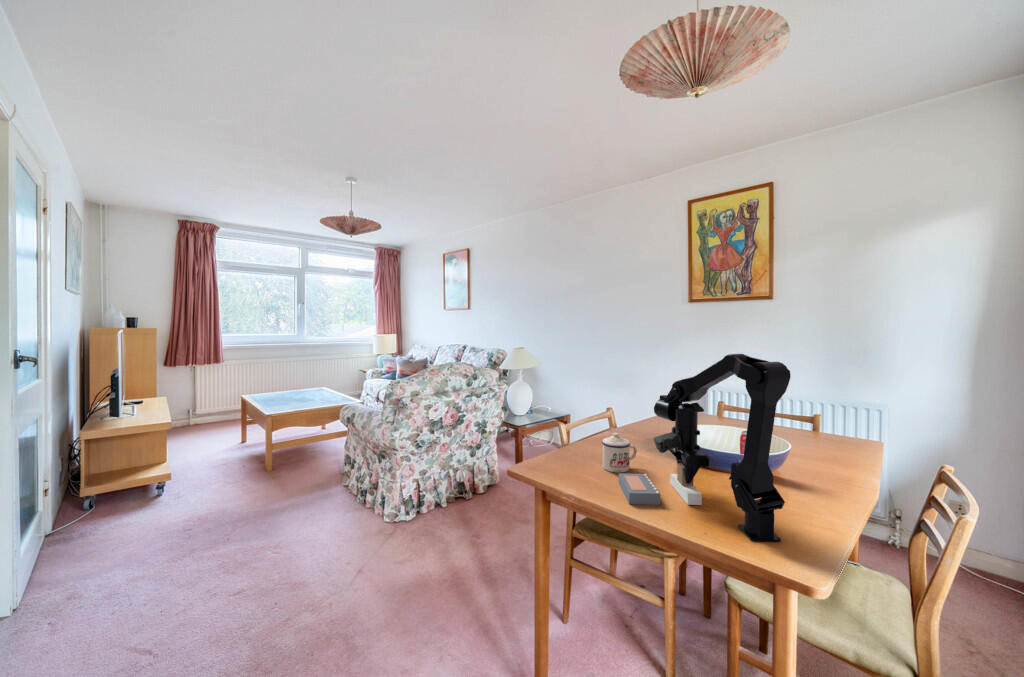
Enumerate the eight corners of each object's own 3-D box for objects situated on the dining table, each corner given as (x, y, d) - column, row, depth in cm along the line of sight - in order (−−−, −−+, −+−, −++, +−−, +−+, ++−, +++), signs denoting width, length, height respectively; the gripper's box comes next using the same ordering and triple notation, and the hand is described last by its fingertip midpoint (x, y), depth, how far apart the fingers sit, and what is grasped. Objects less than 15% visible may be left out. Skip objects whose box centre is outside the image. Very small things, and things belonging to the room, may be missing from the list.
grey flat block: (659, 504, 108) (659, 493, 108) (629, 504, 108) (629, 492, 108) (645, 483, 122) (645, 473, 122) (618, 483, 122) (618, 473, 122)
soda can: (769, 478, 126) (770, 436, 125) (743, 476, 127) (744, 435, 126) (760, 470, 132) (761, 430, 132) (736, 468, 134) (736, 429, 133)
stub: (701, 505, 107) (702, 475, 107) (687, 504, 108) (688, 474, 107) (682, 483, 121) (683, 457, 121) (670, 483, 122) (670, 457, 121)
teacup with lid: (609, 474, 129) (609, 438, 129) (597, 464, 138) (597, 430, 138) (643, 471, 132) (643, 435, 132) (629, 461, 141) (629, 428, 140)
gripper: (647, 417, 123) (647, 467, 124) (667, 434, 105) (666, 493, 105) (685, 417, 123) (684, 468, 123) (711, 434, 104) (710, 494, 105)
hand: (685, 480), depth 114 cm, fingers closed on stub, 4 cm apart
